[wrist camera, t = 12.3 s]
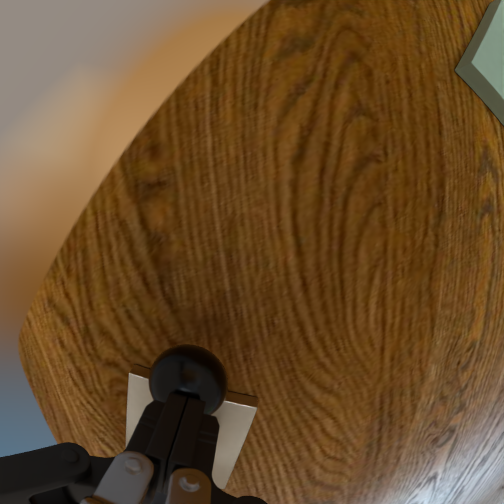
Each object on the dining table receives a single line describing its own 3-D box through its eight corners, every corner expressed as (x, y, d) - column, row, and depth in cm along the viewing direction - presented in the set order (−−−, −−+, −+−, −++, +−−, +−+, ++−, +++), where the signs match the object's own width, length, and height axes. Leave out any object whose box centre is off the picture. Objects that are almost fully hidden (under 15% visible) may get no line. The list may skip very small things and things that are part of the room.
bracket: (134, 363, 21) (59, 488, 9) (257, 397, 21) (254, 544, 9) (129, 453, 23) (87, 553, 12) (225, 479, 23) (212, 587, 12)
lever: (166, 329, 15) (147, 342, 12) (236, 348, 15) (237, 367, 12) (132, 521, 14) (118, 553, 10) (185, 535, 14) (179, 571, 10)
